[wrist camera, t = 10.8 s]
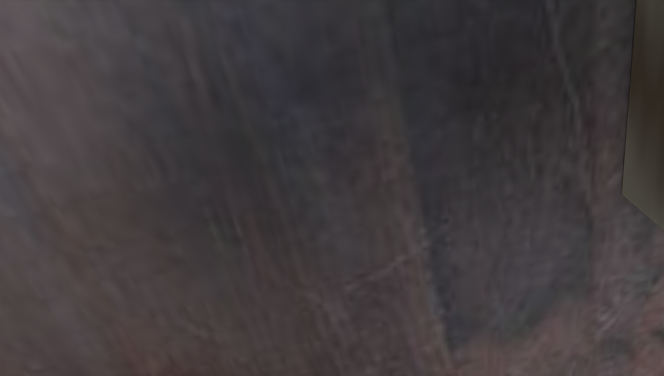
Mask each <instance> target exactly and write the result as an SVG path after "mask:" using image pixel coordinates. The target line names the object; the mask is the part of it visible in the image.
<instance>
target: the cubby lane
mask: <svg viewBox="0 0 664 376" xmlns="http://www.w3.org/2000/svg"><path fill="white" fill-rule="evenodd" d="M622 195H623V196H624V197H625V198H626V199H627V200H628V201H630V202H631V203H632V204H633V205H634V206H635V207H637V208H638V209H639V210H640V211H641V212H643V213H644V214H645V215H646V216H647V217H648V218H650V219H651V220H652V221H653V222H654V223H655V224H657V225H658V226H659V227H660V228H661V229H663V230H664V0H636V14H635V27H634V40H633V53H632V66H631V79H630V92H629V105H628V118H627V131H626V145H625V158H624V171H623V184H622Z"/></svg>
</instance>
